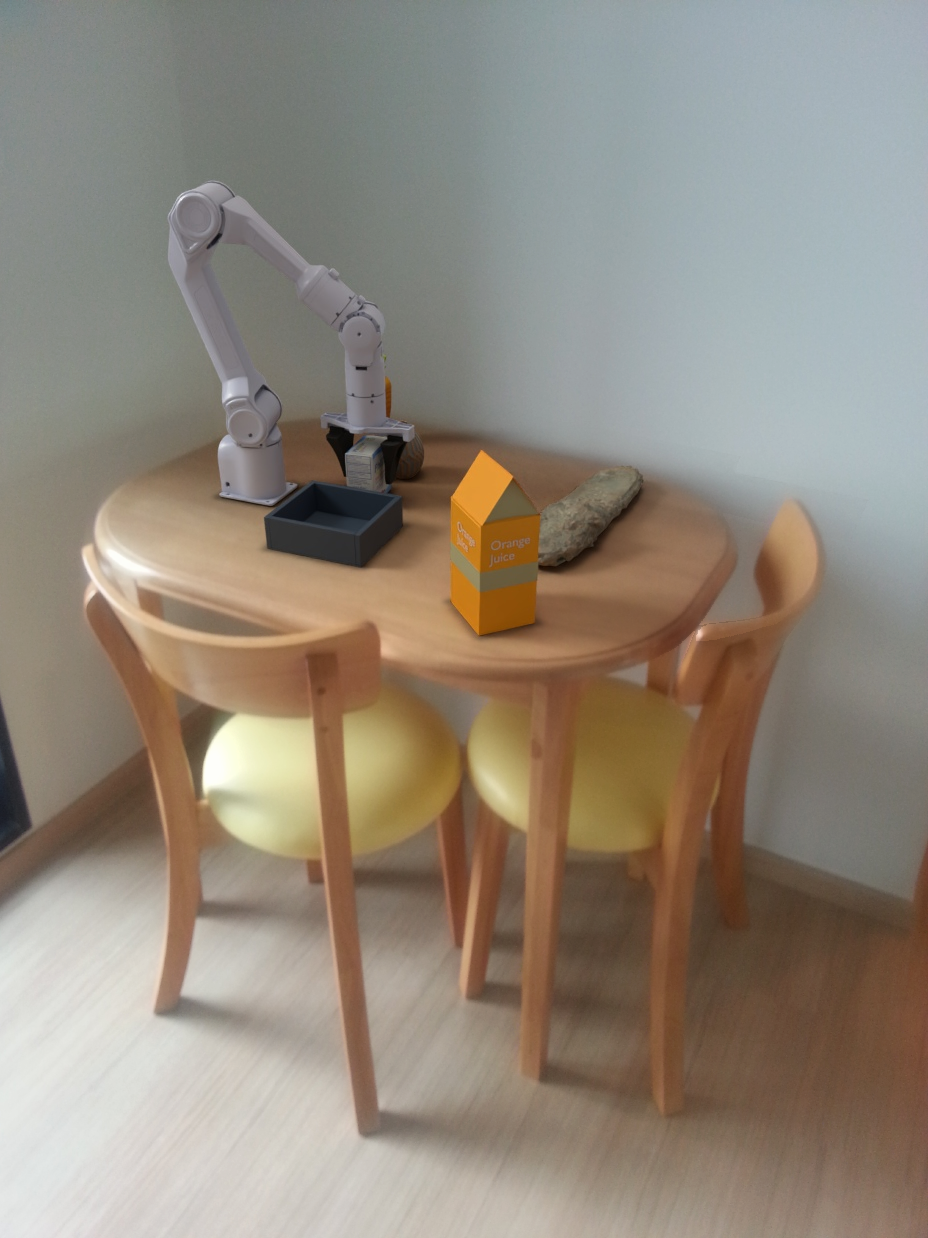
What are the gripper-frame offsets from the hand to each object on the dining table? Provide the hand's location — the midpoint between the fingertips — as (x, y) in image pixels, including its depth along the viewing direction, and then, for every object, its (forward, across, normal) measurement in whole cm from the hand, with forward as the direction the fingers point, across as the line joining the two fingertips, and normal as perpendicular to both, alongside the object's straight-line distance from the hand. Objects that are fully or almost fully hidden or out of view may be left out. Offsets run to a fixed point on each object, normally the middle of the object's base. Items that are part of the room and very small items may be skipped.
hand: (369, 478), depth 147 cm
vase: (+3, +1, +10) cm, 11 cm away
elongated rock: (+3, +33, +4) cm, 34 cm away
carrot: (+3, -9, +22) cm, 24 cm away
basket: (+3, +2, -14) cm, 14 cm away
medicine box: (+3, 0, 0) cm, 3 cm away
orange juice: (+3, +29, -25) cm, 38 cm away
